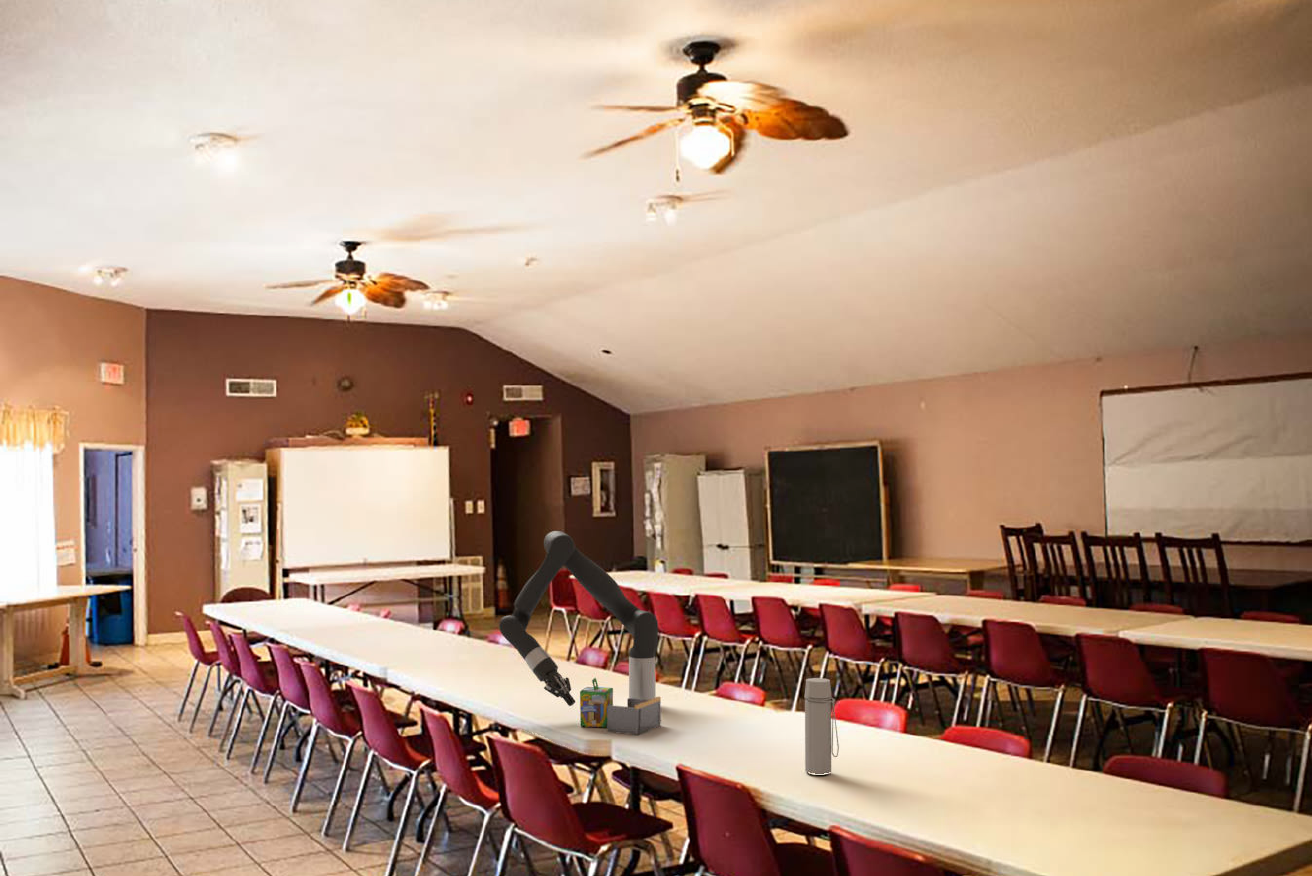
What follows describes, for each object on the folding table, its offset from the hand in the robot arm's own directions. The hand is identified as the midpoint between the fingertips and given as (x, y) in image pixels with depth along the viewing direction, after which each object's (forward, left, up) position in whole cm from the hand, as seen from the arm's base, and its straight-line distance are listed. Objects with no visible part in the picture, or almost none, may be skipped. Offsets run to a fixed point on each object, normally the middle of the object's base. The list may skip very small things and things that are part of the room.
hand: (572, 704), depth 375 cm
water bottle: (+28, +94, -6) cm, 98 cm away
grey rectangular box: (0, +23, -6) cm, 24 cm away
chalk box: (0, +9, -6) cm, 11 cm away
